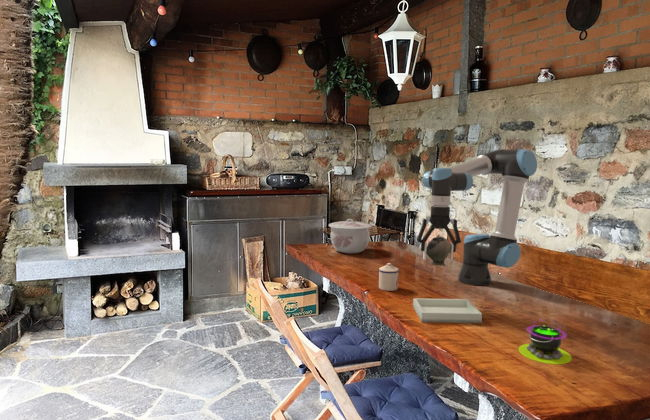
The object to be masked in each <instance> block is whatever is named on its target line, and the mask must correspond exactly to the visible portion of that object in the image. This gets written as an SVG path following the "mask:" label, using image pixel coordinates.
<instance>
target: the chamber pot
mask: <svg viewBox="0 0 650 420" xmlns="http://www.w3.org/2000/svg"><path fill="white" fill-rule="evenodd" d="M328 227H329V228H330V235H329V236H330V241H331V244H332V246H333V247H334V249H335V251H337V252H339V253H342V254H351V255H354V254H359V253H362V252H364V251H365V250H366V248H367V246H368V245H369V241H370V236H371V235H370V231H369V229H371V228H373V225H372V224H371V223H367V222H364V221H357V220H356V221H355V220H354V219H352V218H347V219H346V220H344V221H343V220H342V221H341V220H340V221H335V222H331V223H329V224H328Z"/></svg>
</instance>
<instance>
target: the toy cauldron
mask: <svg viewBox="0 0 650 420" xmlns="http://www.w3.org/2000/svg"><path fill="white" fill-rule="evenodd" d="M544 319H547V317H544ZM551 320H552V323H553V324H556V325H557V326H559V328H555V327H553V326H547V325H545V324H543V325H536V324H535V322H536V320H535V321H533V322H532V324H533V325H529V326H527V327H526V328H525V329H526V332H528V333H529V338H530V342H529V343H524V344H522V345H519V347H518V351H519V353H520V354H521V355H522V356H524V357H525V358H527V359H529V360H531V361H534V362H538V363H542V364H548V365H549V364H550V365H564V364H567V363H570V362H571V361H572V358H573V357H572V355H571V354H570V353H569V352H567V351H566V350H564V349H562V348H560V346H561V344H562V340H563V339H566V338H567V337H568V335H567V333H565V331H563V330H561V328H562V327H561V325H559V324H558V323H555V321H554V318H551ZM540 321H542V322H543V320H542V319H540ZM561 335H562V336H561Z"/></svg>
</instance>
